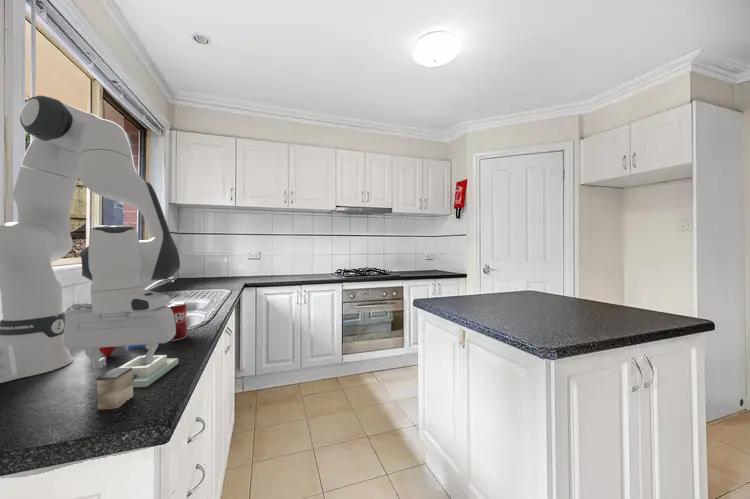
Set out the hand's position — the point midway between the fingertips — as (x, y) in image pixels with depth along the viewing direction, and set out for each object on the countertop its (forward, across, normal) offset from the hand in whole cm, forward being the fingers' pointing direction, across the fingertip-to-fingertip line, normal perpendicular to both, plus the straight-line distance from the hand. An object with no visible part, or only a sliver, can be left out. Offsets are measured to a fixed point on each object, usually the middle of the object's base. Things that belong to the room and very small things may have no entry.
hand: (123, 365), depth 68 cm
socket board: (+8, -4, +13) cm, 16 cm away
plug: (+8, -1, -1) cm, 8 cm away
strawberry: (+7, -22, +29) cm, 37 cm away
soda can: (+8, -11, +44) cm, 46 cm away
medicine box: (+8, -17, +38) cm, 42 cm away
